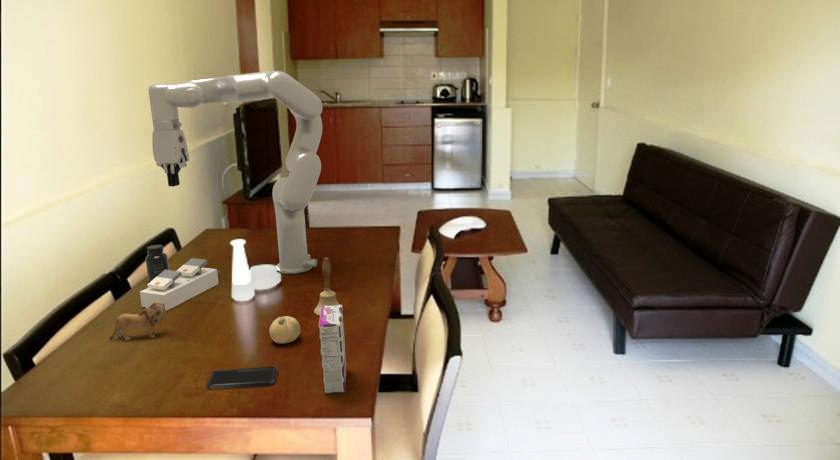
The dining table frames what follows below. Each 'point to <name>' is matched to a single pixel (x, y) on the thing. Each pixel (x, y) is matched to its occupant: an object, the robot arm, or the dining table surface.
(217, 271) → the strip
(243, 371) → the phone
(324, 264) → the hand bell
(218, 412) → the dining table surface
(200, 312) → the dining table surface
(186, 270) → the rocker
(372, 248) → the dining table surface
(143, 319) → the lion figurine
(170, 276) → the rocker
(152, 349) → the dining table surface
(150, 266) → the supplement bottle
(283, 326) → the onion
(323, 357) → the candy bar box
